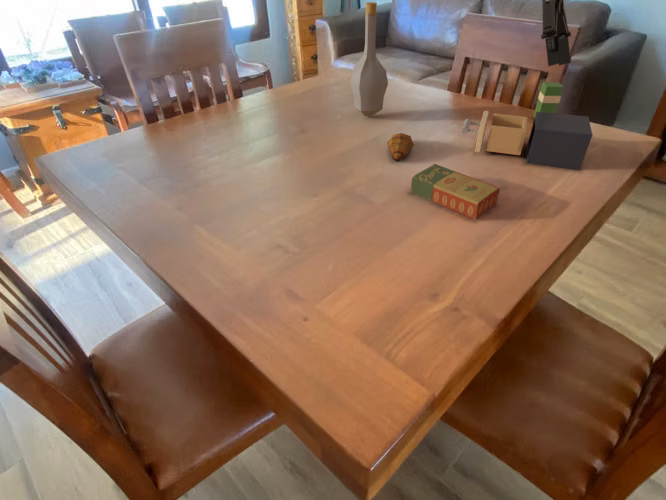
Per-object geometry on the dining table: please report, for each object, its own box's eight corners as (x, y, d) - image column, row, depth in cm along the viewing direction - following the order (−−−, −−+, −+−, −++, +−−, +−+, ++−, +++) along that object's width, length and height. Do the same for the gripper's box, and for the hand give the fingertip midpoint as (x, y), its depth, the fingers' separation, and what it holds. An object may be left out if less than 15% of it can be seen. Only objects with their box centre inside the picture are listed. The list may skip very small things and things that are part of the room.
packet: (549, 117, 125) (559, 82, 119) (553, 122, 122) (564, 86, 116) (532, 117, 126) (542, 82, 119) (536, 122, 122) (546, 86, 116)
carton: (474, 221, 83) (478, 202, 81) (409, 192, 93) (410, 174, 90) (496, 204, 88) (501, 186, 85) (432, 179, 97) (434, 161, 94)
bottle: (341, 116, 129) (340, 3, 111) (368, 107, 135) (371, -2, 117) (367, 126, 122) (370, 8, 104) (394, 117, 128) (402, 2, 110)
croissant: (411, 164, 103) (412, 145, 100) (383, 162, 104) (384, 143, 101) (415, 142, 113) (416, 123, 110) (389, 140, 115) (390, 122, 112)
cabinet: (526, 163, 102) (535, 128, 97) (527, 144, 111) (536, 111, 105) (579, 170, 99) (592, 134, 94) (576, 150, 107) (588, 116, 102)
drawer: (457, 149, 107) (461, 123, 103) (463, 134, 115) (467, 108, 110) (519, 157, 103) (526, 130, 98) (521, 141, 110) (528, 115, 106)
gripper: (545, -13, 117) (553, 67, 122) (521, -26, 99) (532, 69, 104) (576, -25, 113) (583, 59, 118) (557, -41, 94) (567, 59, 99)
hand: (559, 64), depth 111 cm, fingers open, 13 cm apart
